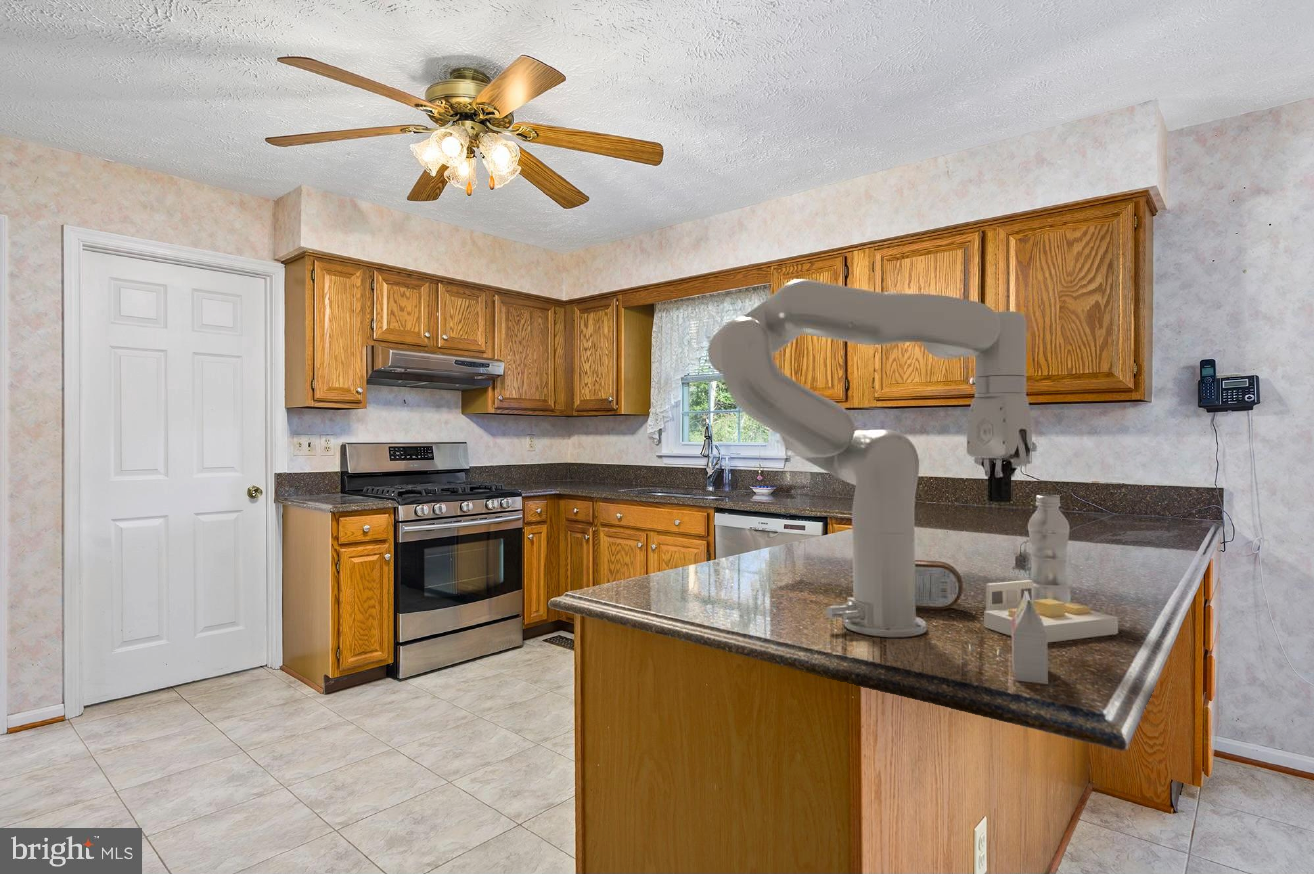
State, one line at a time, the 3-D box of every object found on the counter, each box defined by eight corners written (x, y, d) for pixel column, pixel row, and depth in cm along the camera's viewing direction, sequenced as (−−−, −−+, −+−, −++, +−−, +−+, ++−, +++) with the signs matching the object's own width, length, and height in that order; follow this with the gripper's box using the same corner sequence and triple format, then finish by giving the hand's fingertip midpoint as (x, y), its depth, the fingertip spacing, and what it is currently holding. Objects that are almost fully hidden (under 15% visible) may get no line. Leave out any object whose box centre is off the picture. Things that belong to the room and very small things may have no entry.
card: (990, 621, 116) (990, 584, 116) (986, 619, 117) (985, 583, 117) (1034, 616, 119) (1033, 580, 119) (1029, 615, 120) (1029, 579, 120)
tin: (962, 608, 126) (962, 560, 126) (964, 612, 123) (963, 563, 123) (874, 602, 131) (873, 557, 131) (873, 606, 128) (873, 559, 128)
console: (1034, 643, 104) (1034, 626, 104) (984, 626, 113) (984, 611, 113) (1118, 633, 108) (1117, 617, 108) (1062, 618, 118) (1062, 603, 118)
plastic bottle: (1059, 606, 126) (1058, 493, 126) (1078, 615, 120) (1076, 496, 120) (1022, 605, 127) (1020, 494, 127) (1038, 614, 120) (1036, 497, 120)
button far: (1075, 628, 110) (1075, 608, 110) (1059, 624, 113) (1059, 604, 113) (1090, 627, 111) (1090, 606, 111) (1073, 622, 114) (1073, 602, 114)
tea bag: (1043, 667, 93) (1042, 591, 93) (1048, 683, 87) (1046, 602, 87) (1012, 664, 95) (1010, 589, 95) (1014, 680, 88) (1013, 599, 88)
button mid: (1049, 625, 109) (1049, 604, 109) (1034, 620, 112) (1033, 600, 112) (1065, 623, 110) (1065, 602, 110) (1049, 618, 113) (1048, 598, 113)
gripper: (950, 391, 122) (949, 498, 122) (1014, 384, 107) (1013, 506, 107) (987, 392, 124) (987, 497, 123) (1055, 386, 109) (1054, 505, 109)
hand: (999, 501), depth 115 cm, fingers closed
